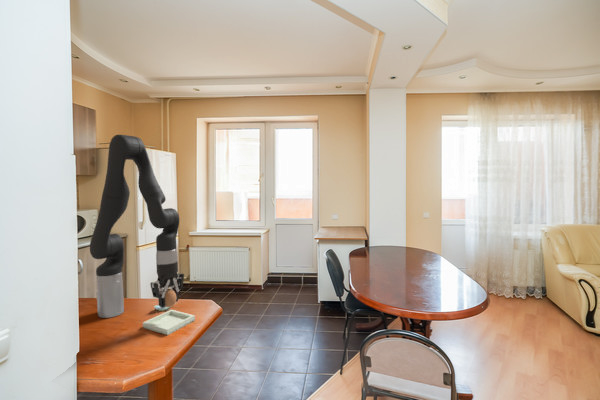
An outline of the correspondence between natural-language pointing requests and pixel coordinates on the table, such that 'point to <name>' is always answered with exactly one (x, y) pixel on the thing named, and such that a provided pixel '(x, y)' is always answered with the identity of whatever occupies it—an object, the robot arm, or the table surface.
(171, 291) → the egg
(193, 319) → the dish
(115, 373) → the table surface
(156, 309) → the pacifier
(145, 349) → the table surface
